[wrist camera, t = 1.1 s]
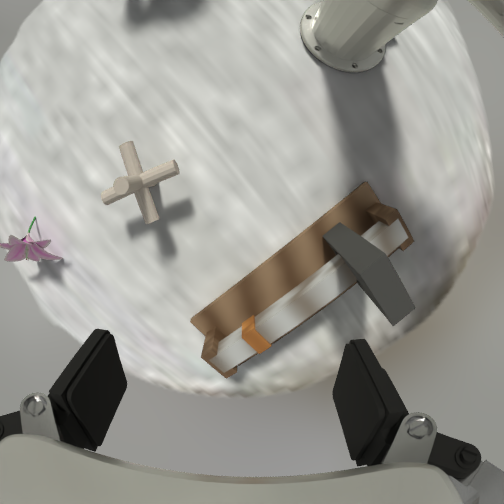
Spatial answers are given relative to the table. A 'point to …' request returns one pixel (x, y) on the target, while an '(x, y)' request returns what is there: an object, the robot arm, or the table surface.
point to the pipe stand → (294, 282)
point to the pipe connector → (139, 182)
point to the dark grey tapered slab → (371, 272)
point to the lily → (27, 249)
